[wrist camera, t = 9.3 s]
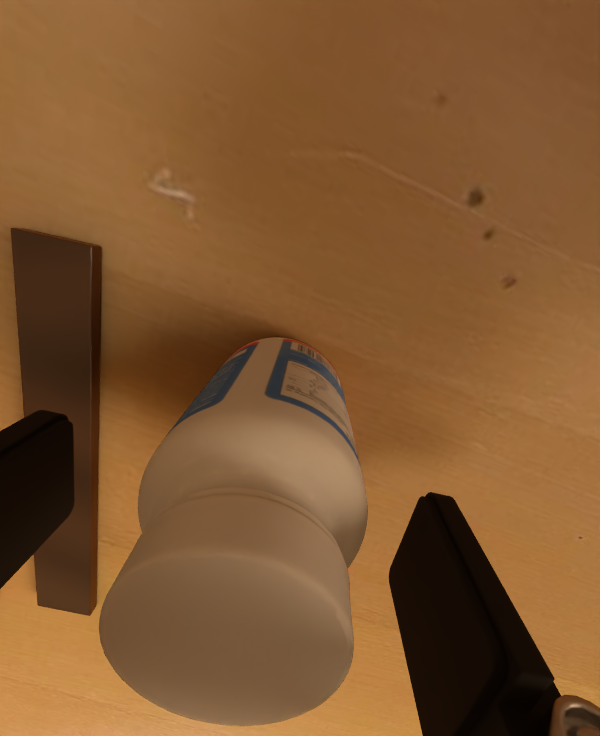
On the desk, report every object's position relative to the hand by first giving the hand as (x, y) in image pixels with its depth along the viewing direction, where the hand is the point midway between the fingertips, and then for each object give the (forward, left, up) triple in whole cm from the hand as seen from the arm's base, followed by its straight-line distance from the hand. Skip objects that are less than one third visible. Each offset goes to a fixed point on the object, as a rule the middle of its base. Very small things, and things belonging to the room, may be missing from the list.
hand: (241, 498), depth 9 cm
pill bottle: (0, 0, -6) cm, 6 cm away
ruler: (+5, -9, -6) cm, 12 cm away
